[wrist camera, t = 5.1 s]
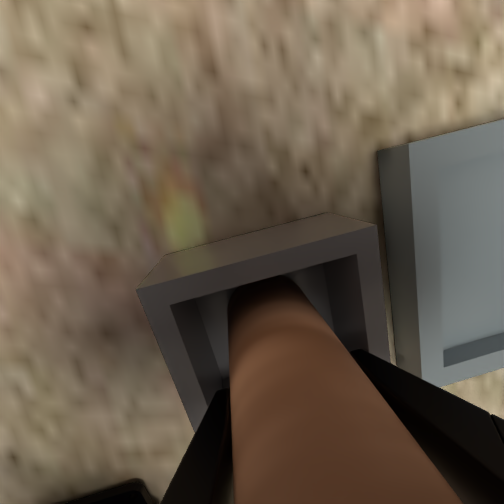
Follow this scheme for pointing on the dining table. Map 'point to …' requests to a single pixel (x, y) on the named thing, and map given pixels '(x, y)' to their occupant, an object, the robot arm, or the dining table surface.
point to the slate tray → (446, 252)
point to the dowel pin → (313, 412)
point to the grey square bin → (254, 269)
